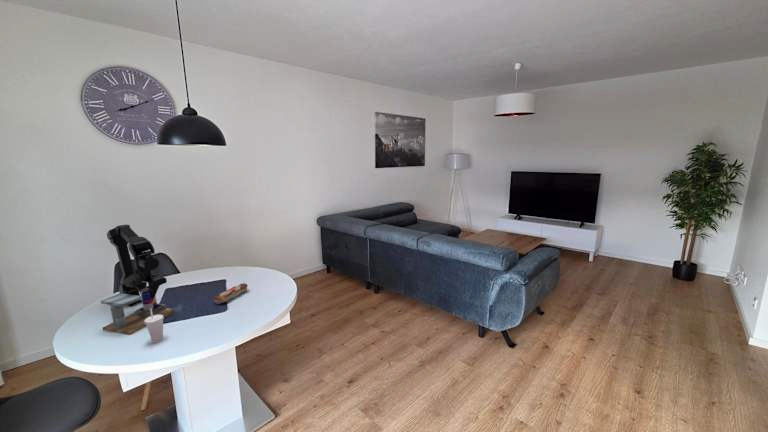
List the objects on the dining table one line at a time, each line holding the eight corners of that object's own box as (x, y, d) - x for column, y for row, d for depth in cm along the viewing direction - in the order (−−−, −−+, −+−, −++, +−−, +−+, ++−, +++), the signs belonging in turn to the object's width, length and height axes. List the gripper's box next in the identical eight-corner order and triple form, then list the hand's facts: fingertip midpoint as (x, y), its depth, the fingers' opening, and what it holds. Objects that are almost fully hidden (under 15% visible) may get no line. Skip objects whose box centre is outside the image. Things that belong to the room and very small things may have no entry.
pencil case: (208, 302, 164) (207, 293, 163) (242, 288, 180) (242, 280, 179) (220, 307, 158) (219, 298, 157) (255, 292, 175) (254, 284, 174)
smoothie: (154, 335, 134) (149, 305, 131) (170, 334, 134) (165, 304, 131) (144, 344, 127) (138, 312, 125) (161, 343, 128) (155, 311, 125)
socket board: (102, 330, 139) (96, 301, 136) (149, 307, 159) (144, 282, 156) (130, 334, 135) (124, 305, 132) (174, 311, 155) (170, 285, 152)
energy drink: (150, 315, 149) (146, 291, 146) (141, 314, 150) (137, 291, 147) (160, 310, 154) (157, 287, 151) (151, 309, 155) (147, 286, 153)
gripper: (109, 270, 142) (116, 302, 145) (141, 274, 137) (147, 307, 140) (134, 262, 153) (140, 292, 156) (165, 265, 148) (169, 296, 151)
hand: (148, 297), depth 150 cm, fingers closed on energy drink, 5 cm apart
